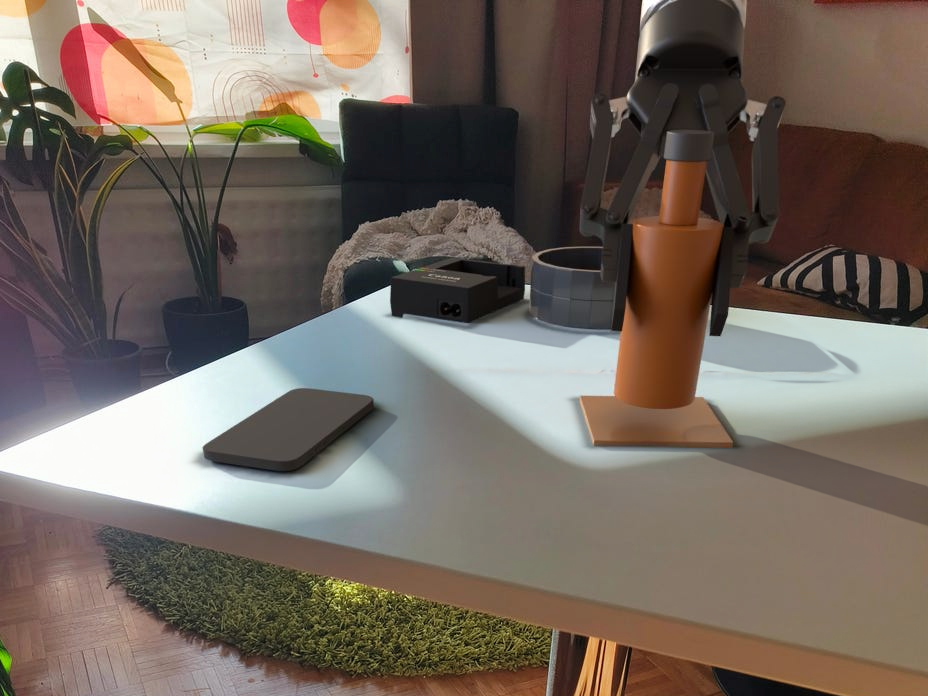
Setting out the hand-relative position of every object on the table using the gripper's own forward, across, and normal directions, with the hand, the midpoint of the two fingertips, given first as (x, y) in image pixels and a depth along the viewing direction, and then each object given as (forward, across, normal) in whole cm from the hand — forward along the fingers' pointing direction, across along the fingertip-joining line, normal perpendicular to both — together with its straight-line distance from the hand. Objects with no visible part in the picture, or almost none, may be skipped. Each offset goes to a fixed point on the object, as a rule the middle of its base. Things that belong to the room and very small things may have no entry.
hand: (668, 322), depth 61 cm
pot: (-19, +5, -31) cm, 36 cm away
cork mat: (+3, 0, -8) cm, 9 cm away
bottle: (+2, 0, -7) cm, 7 cm away
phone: (+8, +26, -4) cm, 28 cm away
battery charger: (-19, +20, -32) cm, 42 cm away
